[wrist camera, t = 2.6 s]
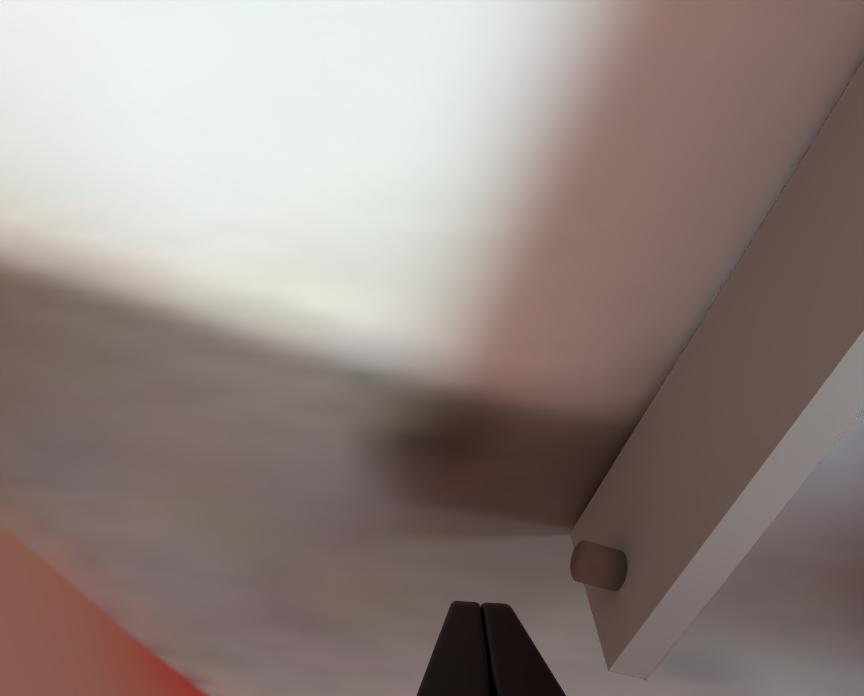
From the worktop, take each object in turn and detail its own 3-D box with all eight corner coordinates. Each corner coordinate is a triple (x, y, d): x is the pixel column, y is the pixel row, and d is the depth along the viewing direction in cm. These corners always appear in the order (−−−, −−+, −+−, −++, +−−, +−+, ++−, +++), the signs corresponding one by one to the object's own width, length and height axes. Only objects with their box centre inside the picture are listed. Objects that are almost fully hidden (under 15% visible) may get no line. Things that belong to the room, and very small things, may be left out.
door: (600, 542, 19) (647, 683, 15) (539, 524, 19) (570, 664, 15) (1141, -287, 11) (1570, -467, 7) (1048, -345, 11) (1441, -571, 6)
